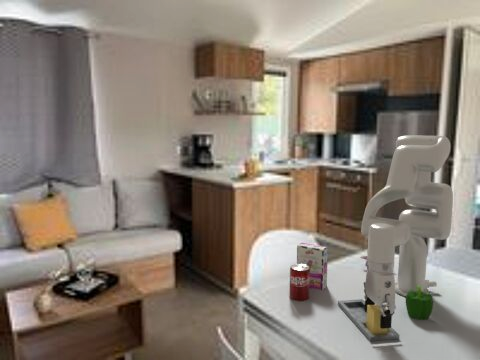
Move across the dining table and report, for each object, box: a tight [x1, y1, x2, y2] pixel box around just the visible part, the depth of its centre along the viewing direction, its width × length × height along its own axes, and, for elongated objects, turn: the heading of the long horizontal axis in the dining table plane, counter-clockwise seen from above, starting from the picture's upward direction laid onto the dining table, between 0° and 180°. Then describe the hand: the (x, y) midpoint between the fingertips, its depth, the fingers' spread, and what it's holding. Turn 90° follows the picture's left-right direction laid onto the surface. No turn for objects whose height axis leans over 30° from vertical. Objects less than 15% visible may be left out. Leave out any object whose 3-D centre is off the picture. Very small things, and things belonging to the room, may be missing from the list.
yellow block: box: [366, 304, 388, 334], centre depth 119 cm, size 4×4×8 cm
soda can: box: [288, 263, 311, 302], centre depth 142 cm, size 7×7×12 cm
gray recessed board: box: [337, 298, 400, 343], centre depth 126 cm, size 9×24×2 cm, turn 9°
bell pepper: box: [405, 285, 434, 320], centre depth 129 cm, size 8×8×10 cm
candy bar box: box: [296, 242, 329, 291], centre depth 153 cm, size 11×5×16 cm, turn 56°
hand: (377, 319), depth 119 cm, fingers open, 9 cm apart
